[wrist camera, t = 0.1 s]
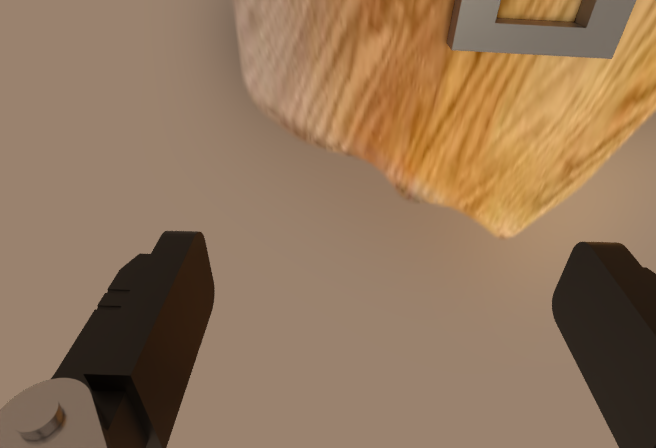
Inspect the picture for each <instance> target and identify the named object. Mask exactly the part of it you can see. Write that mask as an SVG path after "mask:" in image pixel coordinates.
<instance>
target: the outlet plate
mask: <svg viewBox="0 0 656 448" xmlns="http://www.w3.org/2000/svg"><path fill="white" fill-rule="evenodd" d="M500 1H501V0H455V3H454V8H453V14H452V19H451V24H450V29H449V34H448V39H447V44H448V46H449V47H450V48H451V50H459V51H478V52H496V53H514V54H533V55H551V56H570V57H588V58H606V59H612V57H613V55H614V52H615V50H616V48H617V45H618V43H619V40H620V38H621V36H622V33H623V31H624V28H625V26H626V24H627V21H628V19H629V16H630V14H631V12H632V9H633V7H634V4H635V2H636V0H582V2H581V5H580V8H579V11H578V14H577V17H576V20H575V22H560V21H541V20H523V19H504V18H496V17H497V13H498V9H499V5H500Z"/></svg>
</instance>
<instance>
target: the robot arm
mask: <svg viewBox="0 0 656 448" xmlns="http://www.w3.org/2000/svg"><path fill="white" fill-rule="evenodd" d="M213 303H214V281H213V276H212V272H211V267H210V262H209V257H208V252H207V247H206V243H205V238H204V236H203V234H202V233H201V232H192V231H165V232H164V233H163V234H162V235H161V237H160V239H159V241H158V242H157V244H156V246H155V247H154V249H153V251H152V253H151V254H139V255H137V256H136V257H135V258H134V259H132V260H131V261H130V262H129V263H128V264H126V265H125V266H124V267H123V268H121V269H120V270H119V272H118V274H117V275H116V277H115V278H114V280H113V282H112V283H111V285H110V286H109V288H108V292H107V293H105V294H104V296H103V297H102V299H101V301H100V302H99V304H98V308H97V310H94V312H93V313H92V315H91V317H90V318H89V320H88V322H87V323H86V325H85V326H84V328H83V329H82V331H81V333H80V334H79V336H78V337H77V339H76V341H75V342H74V344H73V345H72V347H71V349H70V350H69V352H68V354H67V355H66V357H65V358H64V360H63V361H62V363H61V365H60V366H59V368H58V369H57V371H56V373H55V374H54V375H53V377H52V378H51V379H50V380H46V381H43V382H40V383H38V384H35V385H33V386H31V387H29V388H27V389H25V390H24V391H22V392H21V393H19V394H18V395H16V396H15V397H14V398H12V399H11V400H10V401H9V402H8V403H7V404H6V405H5V406H4V407H3V408H2V409H1V410H0V448H166V447H167V444H168V441H169V438H170V435H171V432H172V429H173V426H174V423H175V420H176V417H177V414H178V411H179V408H180V405H181V402H182V399H183V396H184V393H185V390H186V387H187V384H188V381H189V378H190V375H191V372H192V369H193V366H194V363H195V360H196V357H197V354H198V350H199V348H200V345H201V342H202V339H203V336H204V333H205V330H206V327H207V324H208V321H209V318H210V315H211V311H212V308H213ZM552 311H553V315H554V319H555V322H556V324H557V326H558V328H559V329H560V331H561V333H562V336H563V338H564V339H565V341H566V343H567V345H568V347H569V349H570V351H571V353H572V355H573V357H574V359H575V361H576V363H577V365H578V367H579V369H580V371H581V373H582V375H583V377H584V379H585V381H586V383H587V385H588V387H589V389H590V391H591V393H592V395H593V397H594V399H595V401H596V403H597V405H598V406H599V409H600V411H601V413H602V414H603V417H604V418H605V420H606V422H607V424H608V426H609V428H610V430H611V432H612V434H613V436H614V438H615V440H616V442H617V444H618V446H619V448H656V274H655V273H654V272H652V271H651V270H649V269H648V268H643V267H642V266H641V265H640V264H639V262H638V261H637V260H636V259H635V258H634V256H633V255H632V254H631V253H630V252H629V251H628V249H627V248H626V247H625V246H624V245H622V244H620V243H608V242H579V243H578V244H576V246H575V247H574V248H573V250H572V252H571V254H570V257H569V259H568V261H567V264H566V266H565V268H564V271H563V273H562V275H561V277H560V280H559V282H558V284H557V287H556V289H555V291H554V294H553V298H552Z"/></svg>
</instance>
